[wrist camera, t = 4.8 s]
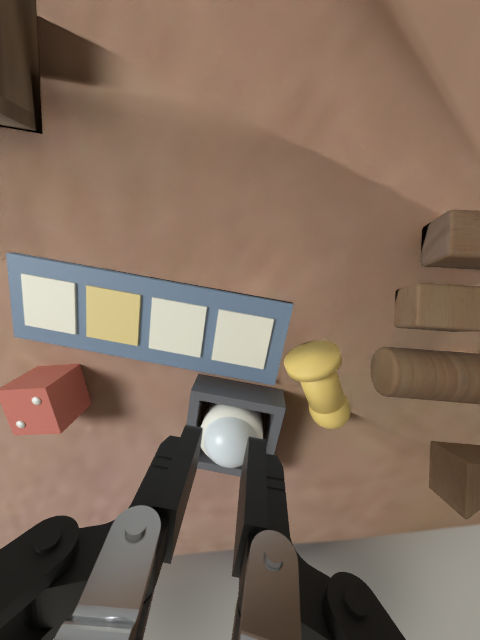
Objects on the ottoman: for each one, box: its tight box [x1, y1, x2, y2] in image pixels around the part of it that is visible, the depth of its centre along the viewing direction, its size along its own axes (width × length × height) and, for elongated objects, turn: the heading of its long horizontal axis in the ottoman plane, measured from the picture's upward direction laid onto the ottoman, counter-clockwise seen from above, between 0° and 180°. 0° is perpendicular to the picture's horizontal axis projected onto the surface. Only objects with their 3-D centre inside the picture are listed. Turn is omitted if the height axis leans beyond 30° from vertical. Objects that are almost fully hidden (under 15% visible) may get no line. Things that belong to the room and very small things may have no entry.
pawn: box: [284, 340, 351, 429], centre depth 22 cm, size 4×4×7 cm
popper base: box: [187, 374, 286, 477], centre depth 25 cm, size 8×8×3 cm
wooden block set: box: [371, 210, 480, 519], centre depth 19 cm, size 18×9×10 cm
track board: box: [6, 253, 293, 385], centre depth 23 cm, size 24×8×1 cm, turn 81°
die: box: [0, 364, 91, 435], centre depth 24 cm, size 4×4×4 cm
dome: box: [201, 403, 263, 468], centre depth 24 cm, size 6×6×5 cm
